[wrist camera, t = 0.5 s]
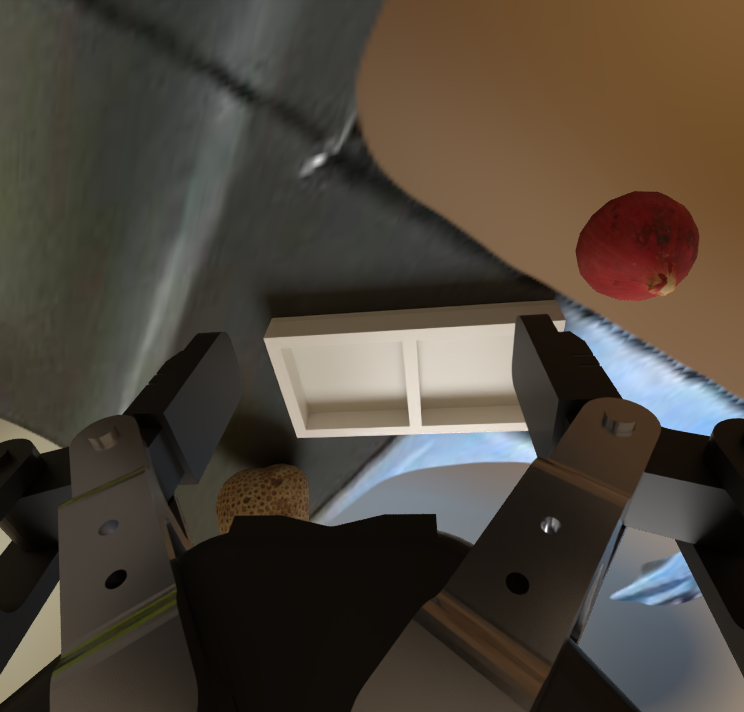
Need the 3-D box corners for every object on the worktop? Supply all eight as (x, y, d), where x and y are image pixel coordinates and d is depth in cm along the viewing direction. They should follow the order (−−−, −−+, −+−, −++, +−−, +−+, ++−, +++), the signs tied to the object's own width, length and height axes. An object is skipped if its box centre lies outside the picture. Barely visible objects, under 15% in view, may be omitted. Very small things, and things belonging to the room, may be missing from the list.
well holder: (272, 318, 33) (263, 338, 31) (555, 299, 31) (565, 320, 29) (302, 416, 40) (297, 437, 38) (536, 407, 38) (544, 430, 36)
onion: (574, 174, 26) (629, 228, 19) (676, 173, 25) (765, 228, 19) (551, 263, 29) (591, 334, 23) (640, 264, 29) (704, 335, 23)
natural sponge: (231, 481, 48) (197, 574, 40) (235, 430, 42) (197, 526, 34) (312, 497, 49) (294, 590, 41) (326, 449, 43) (309, 546, 35)
